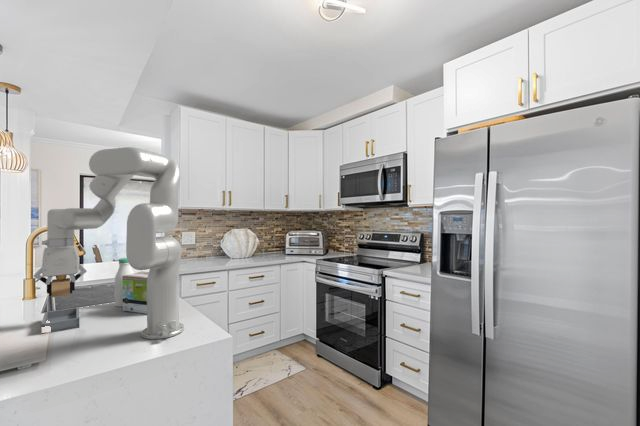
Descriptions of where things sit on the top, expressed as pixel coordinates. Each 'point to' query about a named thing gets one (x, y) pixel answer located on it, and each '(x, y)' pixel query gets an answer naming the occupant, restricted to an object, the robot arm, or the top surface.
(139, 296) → the tea box
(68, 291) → the brown wooden cube
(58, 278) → the ball
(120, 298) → the milk bottle
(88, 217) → the robot arm
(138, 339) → the top surface
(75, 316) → the tray
